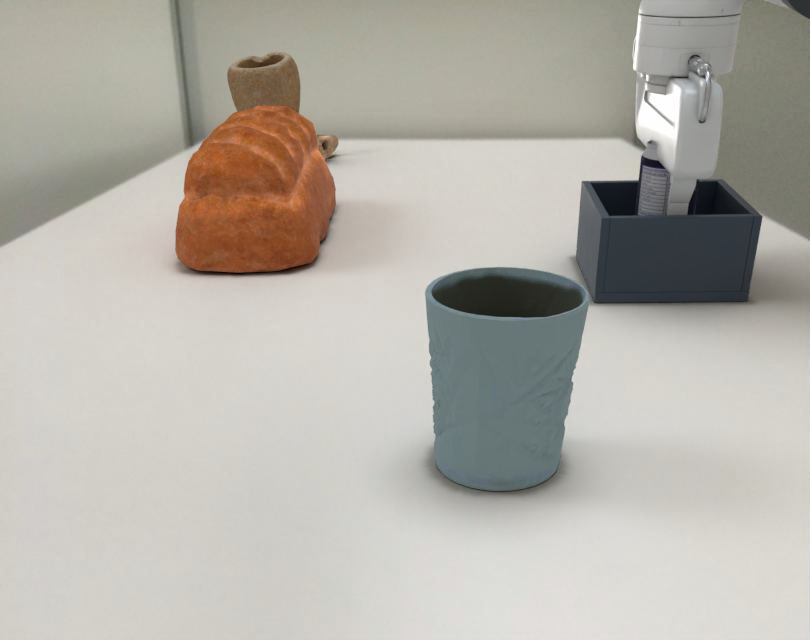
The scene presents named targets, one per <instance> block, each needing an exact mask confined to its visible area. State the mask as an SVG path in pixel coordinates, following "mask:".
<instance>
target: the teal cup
mask: <svg viewBox="0 0 810 640" xmlns="http://www.w3.org/2000/svg"><path fill="white" fill-rule="evenodd" d="M424 296H425V309H426V325H427V333H428V340H429V341H428V353H429V355H430V360H429V366H430V368H431V371H430V377H431V385H432V386H431V389H432V390H431V393H432V395H431V396H432V401H433V402H434V403H433V405H432V410H433V411H432V413H433V414H432V423H433V433H434V435H435V436H434V442H433V448H434V459H435V463H436V466H437V469H438V470H439V471H440V473H441V474H442V475H443V476H445V477H446V478H447V479H449V480H451V481H452V482H453V483H456V484H458V485H460V486H461V485H462V486H465V487H468V488H471V489H475V490H481V491H492V492H508V491H509V492H510V491H511V492H512V491H519V490H524V489H528V488H532V487H535V486H537V485H539V484H541V483H544V482H545V481H548V480H549V479H550V478H552V476H554V474H555V473H556V472H557V469H558V468H559V465H560V460H561V456H562V449H563V443H564V437H565V434H566V433H565V432H566V425H565V421H566V419H567V417H568V416H569V408H570V405H571V398H572V393H573V391H574V382H573V380H572V379H573V376H574V374H575V373H574V370H576V368H577V363H578V359H579V356H580V350H581V346H582V341H583V335H584V330H585V327H586V321H587V316H588V311H589V306H590V301H591V298H590V297H591V296H590V295H589V290H588V289H586V288H585V286H584V285H583V284H581V283H580V282H578V281H576V280H575V279H572V278H571V277H567V276H566V275H565V276H564V275H561V274H557V273H554V272H550V271H545V270H540V269H539V270H538V269H533V268H527V267H525V268H524V267H515V266H514V267H510V266H490V267H489V266H488V267H487V266H486V267H474V268H467V269H462V270H458V271H457V270H456V271H453V272H451V273H446V274H444V275H441V276H439V277H437V278H436V279H433V280H432V281H431V282H430V283H429V284H428V285H427V286H426V288H425V292H424Z"/></svg>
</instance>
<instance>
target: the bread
mask: <svg viewBox="0 0 810 640" xmlns="http://www.w3.org/2000/svg"><path fill="white" fill-rule="evenodd" d="M317 135H318V134H317V131H316V128H315V125H314V123H313V122H312V121H311V120H310V119H308V118H306V117H305V116H304V115H302V114H301V113H300V112H299V113H297V112H296V111H294V110H292V109H291V108H289V107H287V106H256V107H255V108H253V109H248V110H244V111H237V110H236V111H235V112H233V113H232V114H230V115H229V116H228V117H227V118H226V120H225V121H223V122H222V123H221V124H219V125H218V126H217V127H216V128H214V129H213V130H212V131H211V132H210V134H209V135H208V137H206V138H205V139H204V140H203V141H202V142H201V143H200V146H199V148H198V150H196V151H194V152H193V153H192V156H190V158H189V160H188V163H187V165H186V170H185V174H184V180H183V181H184V183H183V196H184V197H183V199H182V201H181V203H180V204H179V206H178V212H177V216H176V217H177V218H176V225H175V241H174V243H175V246H174V247H175V248H174V249H175V251H174V252H175V254H176V257H177V259H178V261H180V262H181V263H183V264H184V265H185V266H186V267H187V268H189V269H192V270H195V271H201V272H221V273H223V272H224V273H237V274H238V273H260V272H262V273H263V272H264V273H265V272H278V271H282V270H288V269H291V268H295V267H299V266H303V265H307V264H312V263H313V262H314V260H315V259H316V258H317V257H318V255H320V249H321V241H322V240H324V239H325V238H326V236H327V234H328V231H329V227H330V218H332V216H333V214H334V211H335V207H336V204H337V202H336V201H337V199H336V198H337V197H336V190H337V189H336V184H335V180H334V176H333V174H332V172H331V170H330V168H329V165H328V163H327V160H326V159H324V157H323V156H322V154H321V153H320V151H319V150H318V149H319V144H318V140H317Z"/></svg>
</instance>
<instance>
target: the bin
mask: <svg viewBox="0 0 810 640" xmlns="http://www.w3.org/2000/svg"><path fill="white" fill-rule="evenodd" d="M638 181H639V179H636V180H635V179H634V180H632V179H631V180H627V179H626V180H582V181H581V186H580V197H579V212H578V224H577V236H576V250H575V251H576V252H575V259H576V261H577V264H578V266H579V268H580V270H581V274H582V276H583V278H584V281H585V283H586V286H587V288H588V292H589V293H590V295H591V296H590V297H591V298H592V300H593V303H595V304H596V303H598V304H604V303H605V304H607V303H614V304H615V303H707V302H711V303H714V302H715V303H716V302H719V303H720V302H721V303H723V302H724V303H725V302H748V300H749V295H750V290H751V284H752V279H753V273H754V269H755V268H754V267H755V261H756V257H757V256H756V255H757V250H758V244H759V239H760V233H761V228H762V223H763V215H762V214H761V213H760V212H759V211H758V210H756V209H755V208H754V207H753V206H752V205H751V204H750V203H749V202H748V201H747V200H746V199H745V198H743V196H741V194H739V193H738V192H737V190H735V189H734V188H733V187H732V185H730V184H729V183H728V182H727V181H726V180H724V179H723V178H716V179H715V178H714V179H711V178H709V179H699V185H698V192H697V199H696V206H695V214H694V215H639V216H635V209H636V200H637V190H638Z"/></svg>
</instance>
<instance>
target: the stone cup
mask: <svg viewBox="0 0 810 640" xmlns="http://www.w3.org/2000/svg"><path fill="white" fill-rule="evenodd" d="M226 76H227V85H228V89H229V92H230V95H231V99H232V102H233V105H234V107H235V109H236V112H237V111H244V110H248V109H253V108H255V107H256V106H287V107H289V108H291V109H292V110H294V111H296V112H297V113H299V114H300V108H301V107H300V106H301V78H300V77H301V76H300V72H299V67H298V65H297V63H296V61H295V59H294V58H293V57H292V56H291V54H289V53H287V52H285V51H271V52H269V53H266V54H265V55H262V56H257V55H249V56H248V55H247V56H245V57H241V58H240V59H238V60H236V61H235V62H233V63H231V64H230V65H229V67H228V68H227V75H226ZM317 140H318V144H319V149H318V150H319V151H320V153H321V154H322V156H323V157H324V159H325V160H327V159H328V158H329V157H331V156H332V155H333V153H335V151H336V150H337V148H338V146H339V143H340V142H339V137H338V136H337V135H332V134H331V135H329V134H328V135H327V134H317Z"/></svg>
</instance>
